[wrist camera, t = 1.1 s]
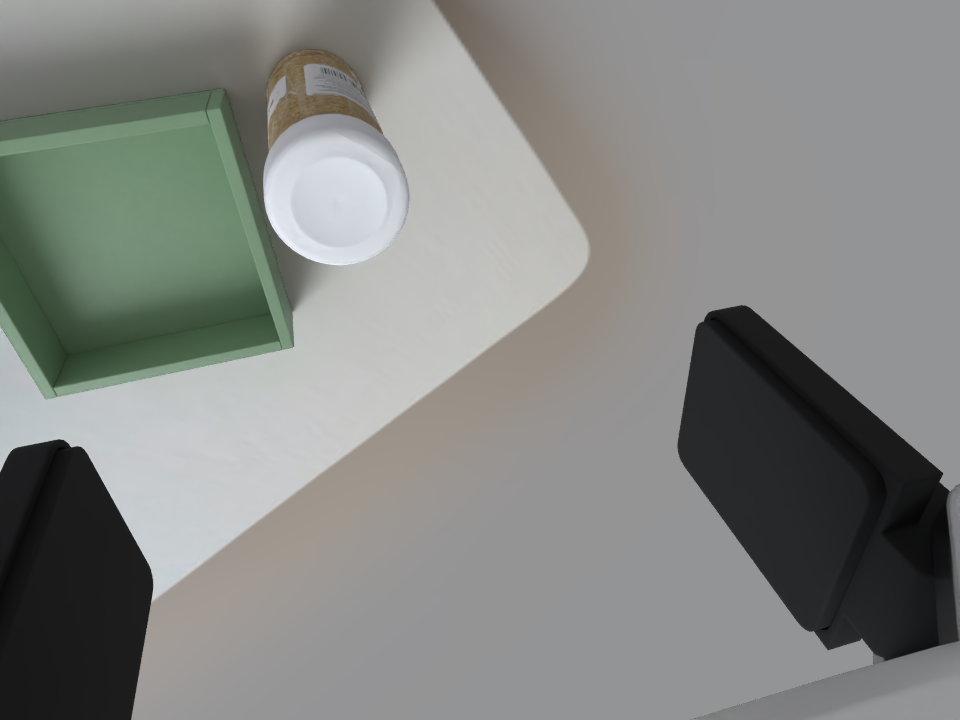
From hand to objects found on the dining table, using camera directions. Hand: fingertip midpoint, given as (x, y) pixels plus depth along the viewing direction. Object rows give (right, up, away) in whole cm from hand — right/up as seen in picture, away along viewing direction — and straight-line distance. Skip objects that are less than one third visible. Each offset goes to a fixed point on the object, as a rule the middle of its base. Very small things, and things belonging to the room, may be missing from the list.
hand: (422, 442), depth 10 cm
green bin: (-16, +7, +22) cm, 29 cm away
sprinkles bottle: (-7, +14, +21) cm, 26 cm away
